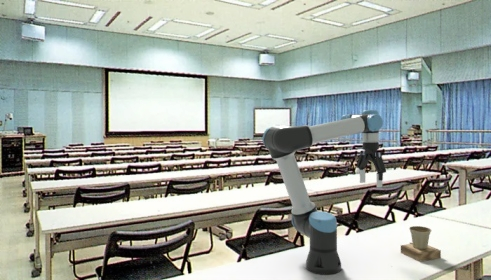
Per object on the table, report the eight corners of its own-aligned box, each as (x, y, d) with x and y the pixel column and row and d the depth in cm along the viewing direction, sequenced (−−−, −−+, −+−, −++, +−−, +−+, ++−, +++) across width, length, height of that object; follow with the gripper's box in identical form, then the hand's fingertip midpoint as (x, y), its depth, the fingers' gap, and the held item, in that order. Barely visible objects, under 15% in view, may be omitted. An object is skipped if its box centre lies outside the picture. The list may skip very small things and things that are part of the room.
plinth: (419, 261, 170) (419, 253, 169) (400, 252, 181) (400, 244, 181) (440, 257, 173) (440, 249, 173) (421, 249, 185) (421, 241, 184)
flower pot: (433, 251, 171) (433, 232, 171) (411, 250, 173) (411, 231, 173) (428, 244, 180) (428, 226, 180) (407, 243, 182) (407, 225, 182)
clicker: (416, 249, 185) (416, 245, 185) (410, 249, 186) (410, 245, 186) (415, 246, 190) (415, 242, 190) (409, 246, 191) (409, 241, 191)
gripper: (394, 142, 175) (394, 188, 176) (362, 140, 198) (362, 180, 200) (380, 143, 172) (380, 189, 174) (349, 140, 196) (350, 181, 198)
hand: (370, 184), depth 187 cm, fingers open, 13 cm apart
